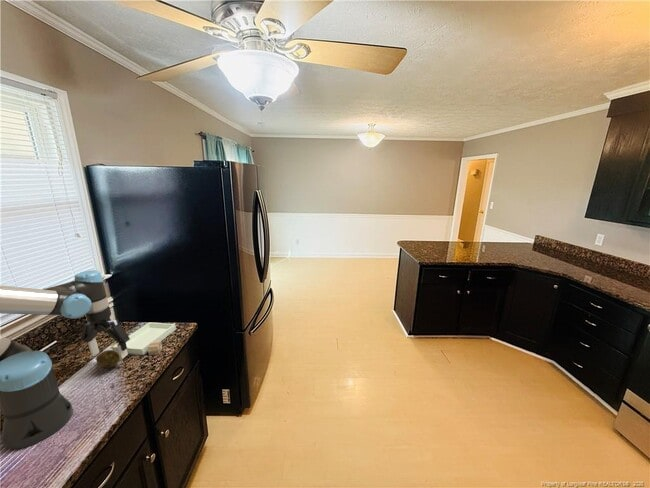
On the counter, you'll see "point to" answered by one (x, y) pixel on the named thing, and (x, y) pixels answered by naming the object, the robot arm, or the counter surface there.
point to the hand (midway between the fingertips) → (109, 355)
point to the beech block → (154, 348)
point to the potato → (108, 358)
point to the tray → (146, 337)
